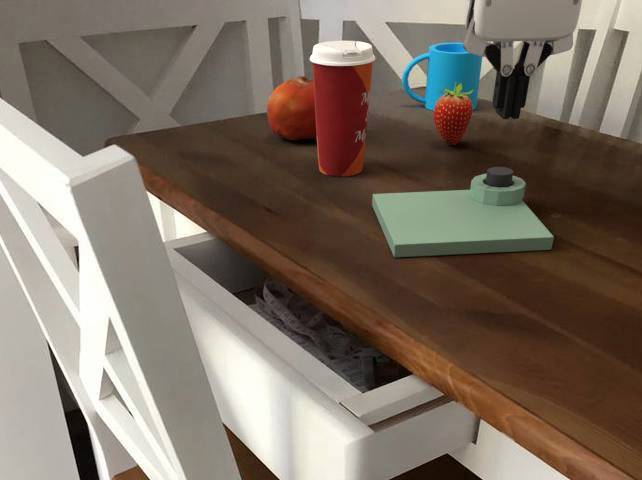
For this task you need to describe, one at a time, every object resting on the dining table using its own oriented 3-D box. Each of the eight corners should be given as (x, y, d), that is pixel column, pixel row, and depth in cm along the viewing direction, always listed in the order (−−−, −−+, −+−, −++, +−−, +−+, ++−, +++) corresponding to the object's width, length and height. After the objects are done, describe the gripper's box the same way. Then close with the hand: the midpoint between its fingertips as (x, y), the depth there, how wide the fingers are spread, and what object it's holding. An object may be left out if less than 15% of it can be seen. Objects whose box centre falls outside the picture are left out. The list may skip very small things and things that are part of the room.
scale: (511, 198, 85) (516, 172, 83) (554, 249, 74) (561, 220, 72) (371, 204, 84) (372, 178, 82) (393, 257, 73) (395, 228, 71)
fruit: (472, 150, 99) (480, 85, 94) (433, 151, 98) (439, 86, 93) (464, 138, 103) (471, 76, 98) (427, 139, 103) (432, 77, 98)
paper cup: (379, 175, 91) (386, 49, 83) (321, 182, 90) (320, 54, 81) (358, 156, 97) (362, 37, 88) (303, 162, 96) (301, 41, 87)
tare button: (506, 180, 82) (508, 166, 81) (514, 189, 80) (516, 174, 79) (482, 181, 82) (484, 167, 81) (489, 190, 80) (491, 175, 79)
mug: (472, 99, 119) (478, 42, 114) (480, 112, 113) (487, 53, 108) (398, 99, 120) (401, 43, 115) (402, 113, 113) (405, 54, 108)
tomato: (254, 139, 104) (251, 77, 99) (299, 124, 109) (298, 65, 104) (301, 152, 99) (300, 87, 94) (346, 137, 104) (347, 75, 99)
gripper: (606, -109, 68) (563, 104, 80) (447, -107, 67) (428, 108, 79) (642, -105, 62) (590, 123, 74) (469, -103, 61) (444, 128, 73)
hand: (506, 115), depth 76 cm, fingers closed
